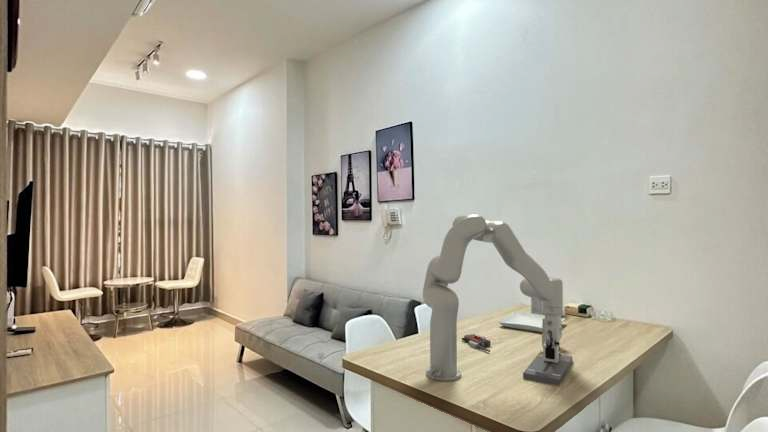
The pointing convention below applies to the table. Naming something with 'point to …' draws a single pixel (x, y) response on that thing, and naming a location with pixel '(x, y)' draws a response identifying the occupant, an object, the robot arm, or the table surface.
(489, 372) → the table surface
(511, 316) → the square plate
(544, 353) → the fader knob
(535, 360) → the slider console
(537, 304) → the supplement box
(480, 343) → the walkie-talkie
